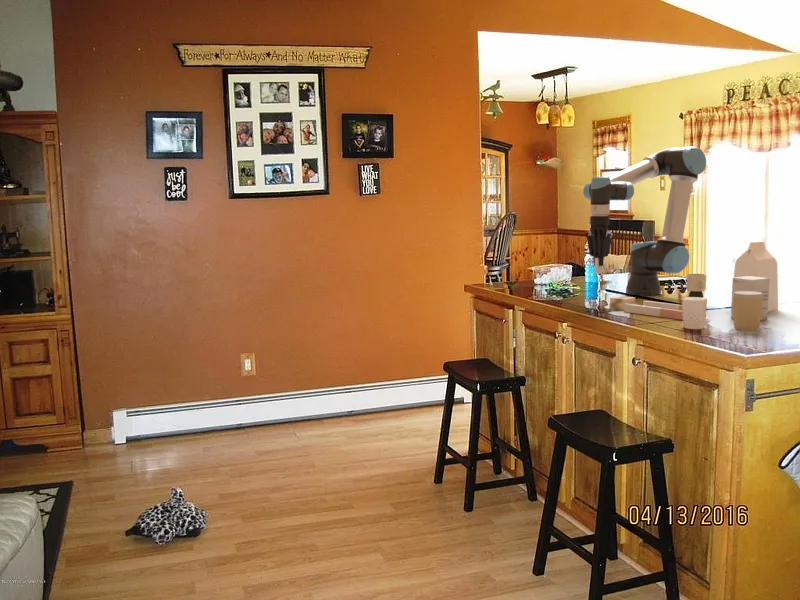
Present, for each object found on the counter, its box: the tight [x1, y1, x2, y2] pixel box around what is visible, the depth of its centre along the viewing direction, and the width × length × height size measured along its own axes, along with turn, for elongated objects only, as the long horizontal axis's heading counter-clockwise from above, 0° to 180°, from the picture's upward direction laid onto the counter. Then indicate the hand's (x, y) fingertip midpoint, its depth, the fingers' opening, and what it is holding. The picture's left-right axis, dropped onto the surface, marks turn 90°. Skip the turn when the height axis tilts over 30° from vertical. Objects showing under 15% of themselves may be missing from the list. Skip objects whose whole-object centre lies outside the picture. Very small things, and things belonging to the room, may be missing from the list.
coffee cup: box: [733, 291, 763, 331], centre depth 259 cm, size 9×9×12 cm
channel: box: [623, 300, 683, 321], centre depth 291 cm, size 26×13×3 cm, turn 36°
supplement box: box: [730, 276, 770, 321], centre depth 276 cm, size 9×9×15 cm
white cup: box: [681, 296, 708, 330], centre depth 262 cm, size 8×8×10 cm
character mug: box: [686, 273, 707, 298], centre depth 304 cm, size 11×7×13 cm, turn 5°
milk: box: [731, 240, 779, 312], centre depth 295 cm, size 12×12×26 cm
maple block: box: [609, 295, 636, 311], centre depth 307 cm, size 7×7×4 cm
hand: (598, 273), depth 315 cm, fingers closed
